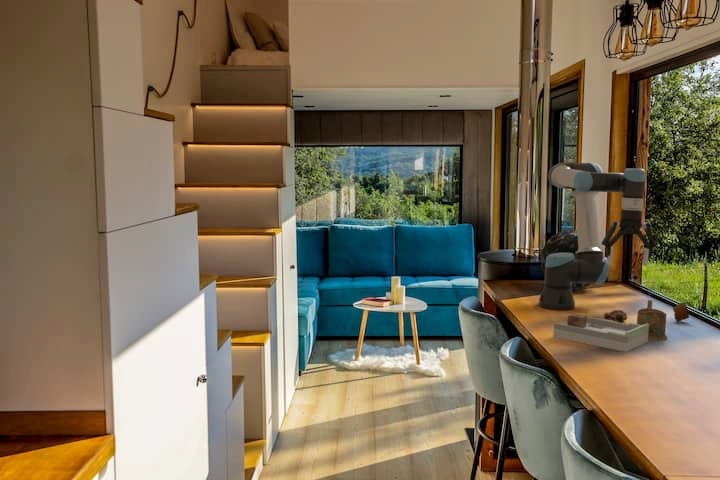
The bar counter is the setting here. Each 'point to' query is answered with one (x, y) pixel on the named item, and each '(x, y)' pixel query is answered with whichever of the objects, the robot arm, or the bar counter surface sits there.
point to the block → (577, 320)
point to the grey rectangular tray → (605, 334)
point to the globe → (562, 249)
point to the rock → (681, 311)
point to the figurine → (616, 316)
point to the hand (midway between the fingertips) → (627, 265)
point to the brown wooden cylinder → (653, 322)
